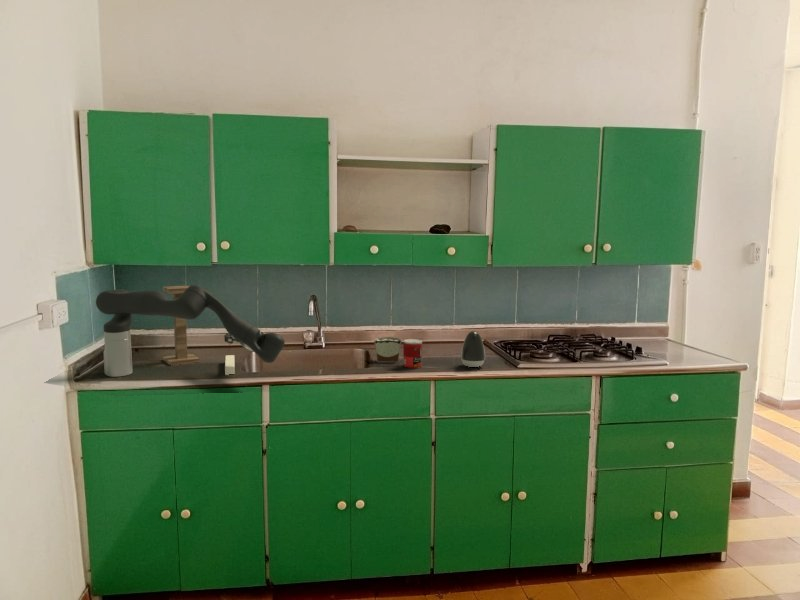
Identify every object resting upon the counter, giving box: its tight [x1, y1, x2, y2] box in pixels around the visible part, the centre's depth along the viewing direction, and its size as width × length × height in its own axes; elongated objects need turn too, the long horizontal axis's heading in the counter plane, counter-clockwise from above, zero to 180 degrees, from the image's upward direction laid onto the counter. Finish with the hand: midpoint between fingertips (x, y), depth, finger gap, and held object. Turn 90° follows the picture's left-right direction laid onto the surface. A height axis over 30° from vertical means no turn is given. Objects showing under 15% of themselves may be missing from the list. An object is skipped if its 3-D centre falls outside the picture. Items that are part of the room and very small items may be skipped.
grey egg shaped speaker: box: [460, 330, 486, 368], centre depth 240 cm, size 10×10×15 cm
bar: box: [224, 354, 236, 376], centre depth 234 cm, size 21×4×4 cm, turn 16°
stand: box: [162, 285, 201, 367], centre depth 244 cm, size 12×12×32 cm
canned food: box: [402, 338, 423, 369], centre depth 240 cm, size 8×8×11 cm
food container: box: [373, 336, 403, 363], centre depth 250 cm, size 12×6×10 cm, turn 92°
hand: (237, 334), depth 229 cm, fingers open, 8 cm apart
